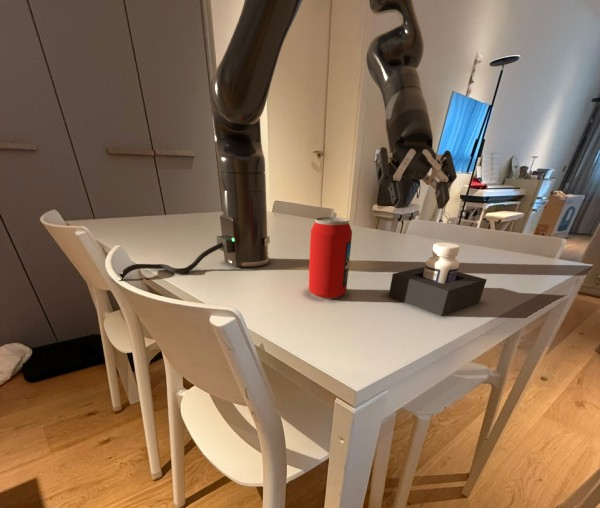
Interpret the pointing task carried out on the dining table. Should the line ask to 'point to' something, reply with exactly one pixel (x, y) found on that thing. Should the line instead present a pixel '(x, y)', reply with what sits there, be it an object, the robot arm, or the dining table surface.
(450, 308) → the socket pad
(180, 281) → the dining table surface
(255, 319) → the dining table surface
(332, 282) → the beverage can
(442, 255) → the pill bottle
